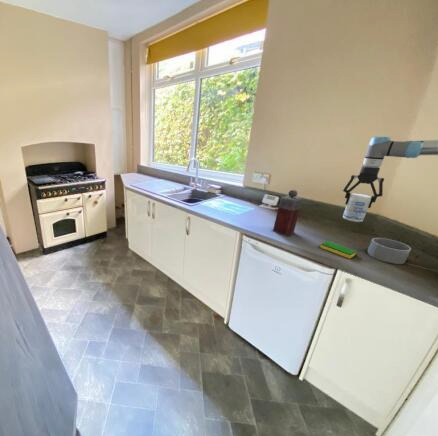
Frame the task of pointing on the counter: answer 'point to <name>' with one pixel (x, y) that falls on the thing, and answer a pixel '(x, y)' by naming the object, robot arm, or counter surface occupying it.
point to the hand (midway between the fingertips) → (357, 205)
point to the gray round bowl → (388, 250)
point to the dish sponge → (338, 249)
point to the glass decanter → (287, 213)
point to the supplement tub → (356, 207)
